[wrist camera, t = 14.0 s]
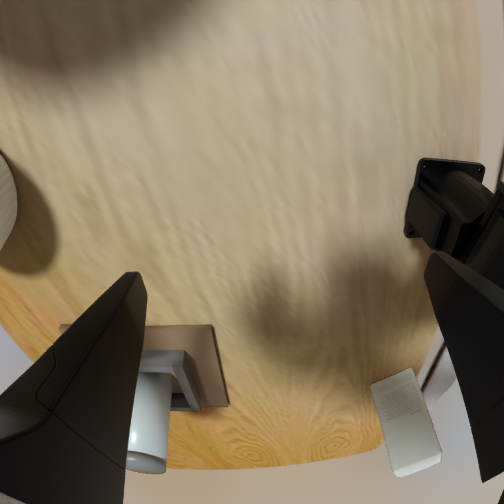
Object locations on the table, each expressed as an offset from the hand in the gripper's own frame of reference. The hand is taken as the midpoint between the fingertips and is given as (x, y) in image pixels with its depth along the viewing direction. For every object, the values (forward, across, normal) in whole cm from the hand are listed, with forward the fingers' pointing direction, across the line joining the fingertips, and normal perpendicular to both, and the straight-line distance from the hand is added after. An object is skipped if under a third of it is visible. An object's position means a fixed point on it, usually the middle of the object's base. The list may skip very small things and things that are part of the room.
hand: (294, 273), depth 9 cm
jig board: (+12, +13, +24) cm, 30 cm away
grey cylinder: (+11, +13, +24) cm, 29 cm away
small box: (+12, -18, +33) cm, 40 cm away
